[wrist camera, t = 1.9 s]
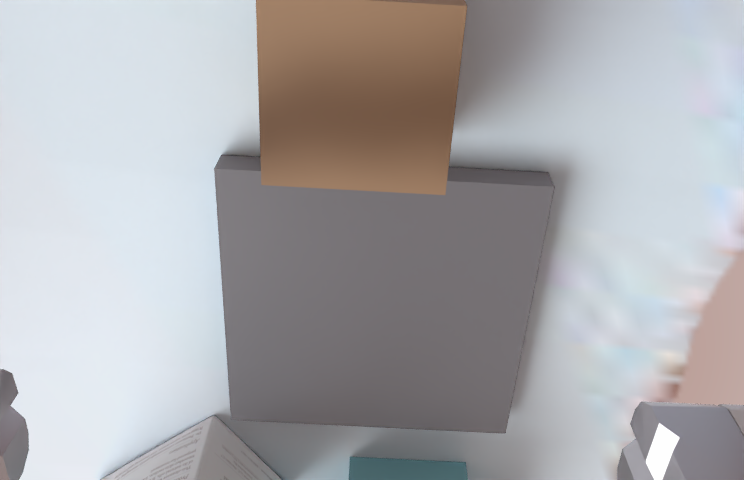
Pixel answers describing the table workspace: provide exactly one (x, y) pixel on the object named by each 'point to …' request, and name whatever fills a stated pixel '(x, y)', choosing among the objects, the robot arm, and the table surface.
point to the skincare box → (198, 458)
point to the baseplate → (378, 298)
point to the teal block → (405, 469)
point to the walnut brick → (358, 92)
